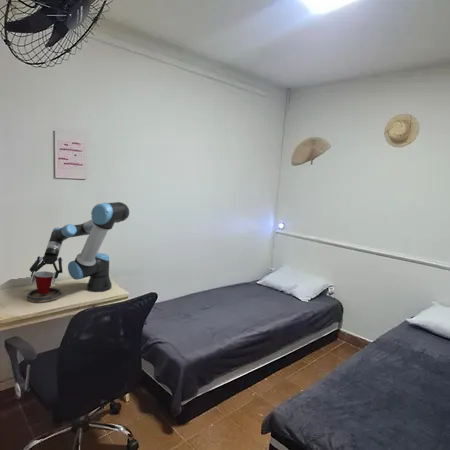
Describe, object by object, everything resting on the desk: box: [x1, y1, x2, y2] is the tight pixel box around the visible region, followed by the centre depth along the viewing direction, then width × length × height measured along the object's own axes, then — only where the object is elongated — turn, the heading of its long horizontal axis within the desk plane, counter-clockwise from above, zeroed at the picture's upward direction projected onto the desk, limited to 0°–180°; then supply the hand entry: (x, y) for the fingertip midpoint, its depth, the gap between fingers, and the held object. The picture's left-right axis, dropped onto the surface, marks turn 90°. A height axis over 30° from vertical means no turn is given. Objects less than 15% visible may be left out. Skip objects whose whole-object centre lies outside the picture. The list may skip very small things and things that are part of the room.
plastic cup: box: [34, 270, 54, 294], centre depth 196 cm, size 11×11×12 cm
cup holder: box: [26, 287, 63, 304], centre depth 197 cm, size 18×18×3 cm
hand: (42, 282), depth 193 cm, fingers closed on plastic cup, 11 cm apart
